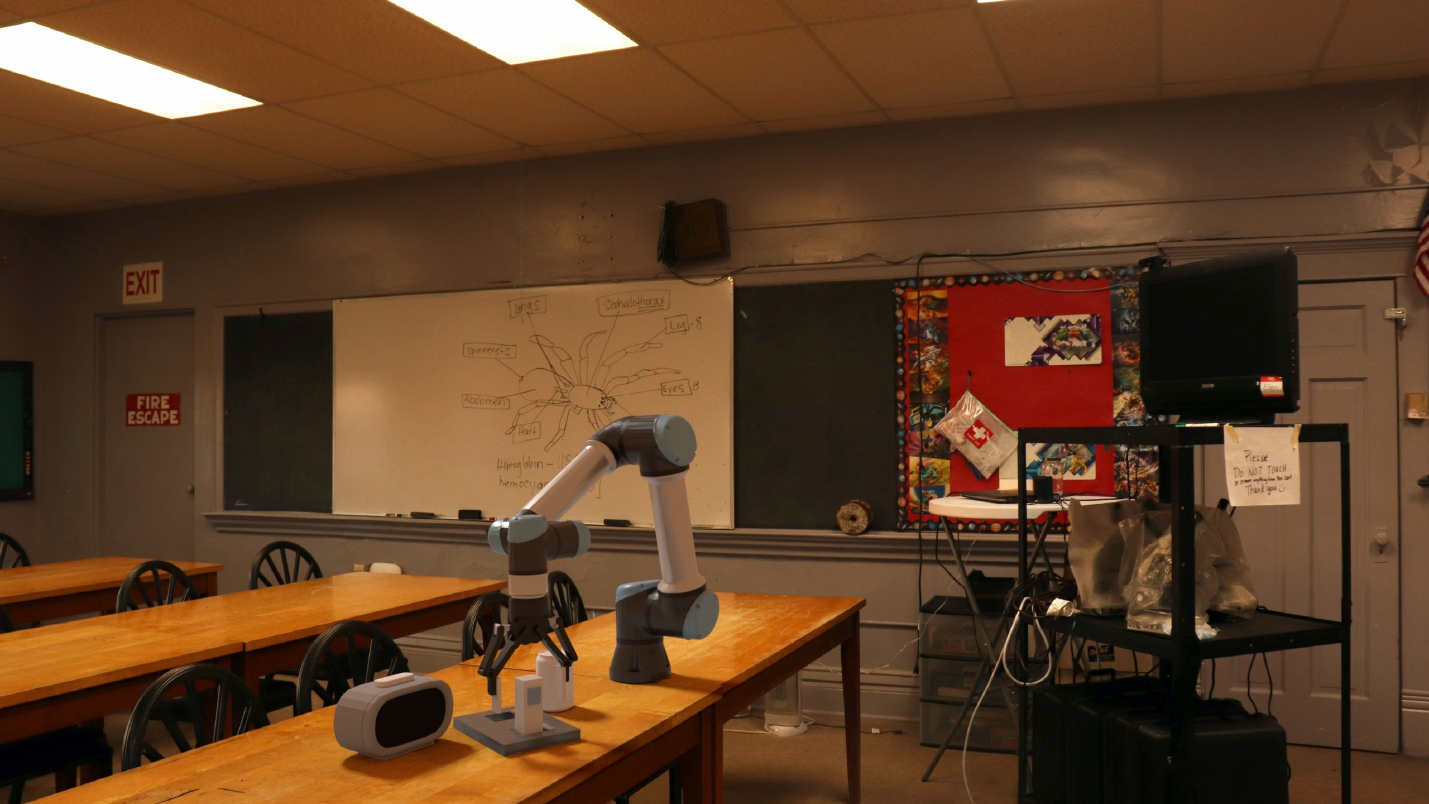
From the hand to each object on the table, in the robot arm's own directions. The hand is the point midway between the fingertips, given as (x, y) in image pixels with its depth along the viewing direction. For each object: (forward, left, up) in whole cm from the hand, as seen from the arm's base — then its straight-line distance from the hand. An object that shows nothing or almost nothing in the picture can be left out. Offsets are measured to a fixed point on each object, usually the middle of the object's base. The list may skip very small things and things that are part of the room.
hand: (529, 705), depth 191 cm
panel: (0, -6, -6) cm, 9 cm away
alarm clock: (+22, -11, -7) cm, 26 cm away
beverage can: (-15, -18, -7) cm, 24 cm away
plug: (0, 0, -6) cm, 7 cm away
